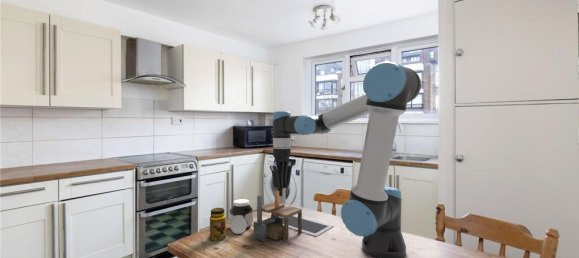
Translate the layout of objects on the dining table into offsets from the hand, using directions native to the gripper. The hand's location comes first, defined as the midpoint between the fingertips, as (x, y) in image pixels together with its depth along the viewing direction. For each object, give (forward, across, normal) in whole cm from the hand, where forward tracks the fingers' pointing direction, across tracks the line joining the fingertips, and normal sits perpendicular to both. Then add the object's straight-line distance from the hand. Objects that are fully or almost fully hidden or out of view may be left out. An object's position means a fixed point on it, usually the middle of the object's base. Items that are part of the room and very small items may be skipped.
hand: (282, 202), depth 116 cm
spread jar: (+12, +10, -15) cm, 22 cm away
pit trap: (+12, -11, +2) cm, 16 cm away
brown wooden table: (+12, +2, 0) cm, 12 cm away
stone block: (+12, +7, 0) cm, 14 cm away
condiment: (+12, +23, -15) cm, 30 cm away
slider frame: (+12, +8, 0) cm, 15 cm away
